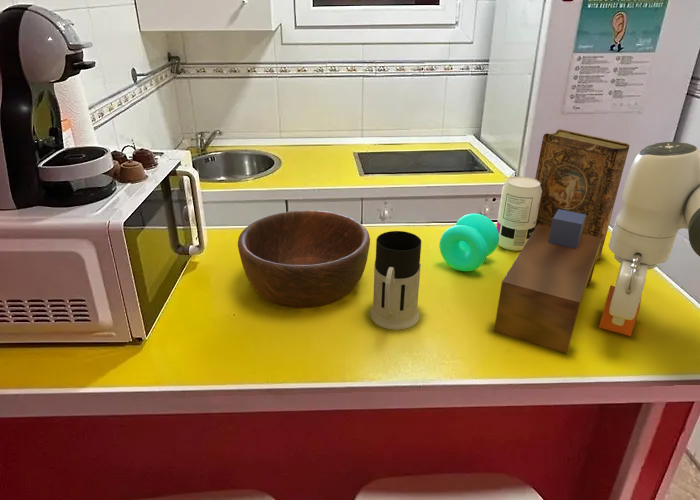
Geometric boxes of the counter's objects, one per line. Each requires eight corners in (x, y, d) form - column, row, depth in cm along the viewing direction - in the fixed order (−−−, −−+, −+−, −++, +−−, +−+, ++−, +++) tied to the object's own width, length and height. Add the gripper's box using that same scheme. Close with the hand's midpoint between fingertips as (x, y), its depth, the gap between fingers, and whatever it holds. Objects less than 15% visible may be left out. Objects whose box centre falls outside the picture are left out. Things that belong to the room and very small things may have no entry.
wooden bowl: (253, 329, 89) (248, 277, 84) (234, 262, 110) (229, 218, 105) (388, 303, 96) (390, 255, 92) (345, 245, 117) (345, 203, 113)
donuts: (435, 265, 109) (439, 222, 105) (454, 247, 117) (459, 206, 112) (480, 279, 104) (486, 235, 100) (497, 259, 112) (504, 217, 107)
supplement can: (487, 239, 121) (496, 178, 114) (516, 233, 124) (526, 173, 117) (509, 254, 114) (519, 190, 107) (539, 248, 117) (551, 185, 110)
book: (604, 256, 113) (633, 144, 102) (591, 264, 110) (621, 150, 99) (537, 231, 124) (556, 128, 113) (524, 238, 121) (543, 132, 110)
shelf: (590, 282, 104) (602, 237, 99) (566, 354, 84) (579, 302, 79) (529, 267, 109) (537, 224, 104) (493, 331, 89) (501, 281, 85)
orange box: (633, 321, 92) (642, 293, 89) (630, 336, 88) (639, 307, 85) (602, 313, 94) (610, 285, 91) (598, 327, 90) (607, 298, 88)
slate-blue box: (580, 238, 99) (586, 214, 96) (576, 248, 95) (582, 224, 93) (553, 232, 101) (558, 208, 99) (548, 242, 97) (553, 218, 95)
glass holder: (422, 305, 96) (428, 232, 89) (411, 352, 84) (417, 272, 77) (375, 298, 98) (378, 226, 91) (358, 344, 86) (359, 265, 79)
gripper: (659, 275, 74) (634, 352, 81) (665, 224, 90) (643, 291, 96) (611, 264, 77) (591, 339, 84) (625, 216, 93) (606, 282, 99)
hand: (619, 313), depth 90 cm, fingers closed on orange box, 5 cm apart
